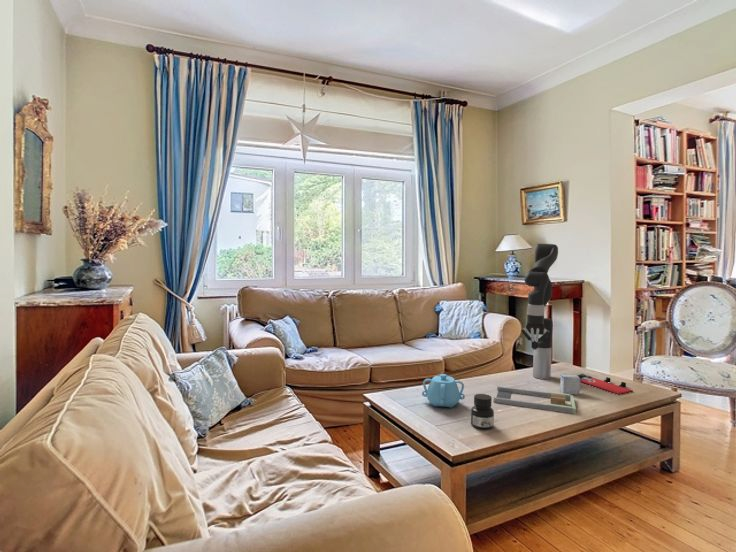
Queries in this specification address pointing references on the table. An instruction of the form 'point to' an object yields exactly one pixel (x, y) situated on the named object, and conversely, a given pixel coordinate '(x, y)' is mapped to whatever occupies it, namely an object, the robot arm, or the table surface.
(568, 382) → the medicine box
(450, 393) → the decorative pot
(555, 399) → the walnut block
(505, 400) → the frame
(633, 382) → the table surface
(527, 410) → the table surface
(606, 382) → the red board with handle
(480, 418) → the ink bottle
